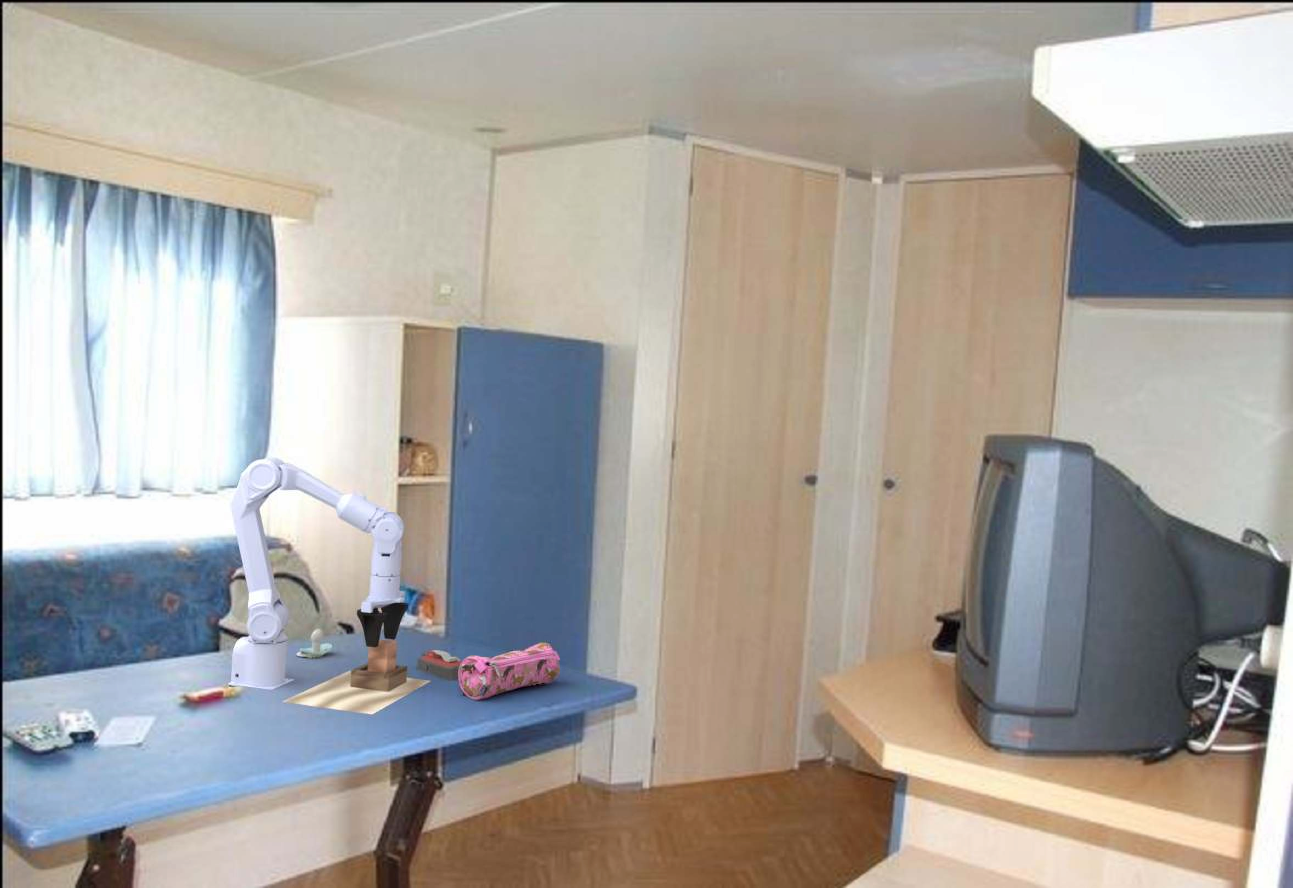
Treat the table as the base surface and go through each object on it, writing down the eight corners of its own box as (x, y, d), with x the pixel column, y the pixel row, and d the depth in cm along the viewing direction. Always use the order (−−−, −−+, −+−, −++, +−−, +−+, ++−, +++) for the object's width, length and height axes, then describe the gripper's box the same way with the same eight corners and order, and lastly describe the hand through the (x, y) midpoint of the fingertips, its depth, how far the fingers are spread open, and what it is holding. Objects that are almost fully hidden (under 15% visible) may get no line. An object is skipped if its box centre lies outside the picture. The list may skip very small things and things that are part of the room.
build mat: (282, 704, 187) (283, 684, 186) (350, 672, 211) (351, 654, 211) (372, 717, 183) (373, 696, 183) (431, 683, 207) (432, 665, 207)
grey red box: (485, 677, 216) (426, 658, 229) (486, 656, 216) (427, 638, 229) (452, 684, 209) (393, 663, 222) (453, 662, 209) (394, 643, 222)
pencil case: (484, 706, 195) (487, 660, 194) (452, 695, 201) (455, 650, 200) (562, 688, 211) (565, 645, 211) (531, 678, 217) (534, 637, 217)
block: (367, 673, 200) (369, 643, 200) (377, 669, 204) (379, 639, 204) (385, 676, 199) (387, 645, 199) (395, 671, 203) (397, 641, 203)
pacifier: (289, 656, 222) (308, 661, 218) (290, 628, 222) (309, 632, 218) (316, 651, 228) (335, 655, 225) (317, 623, 228) (336, 627, 225)
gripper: (387, 581, 193) (382, 652, 194) (420, 571, 208) (415, 637, 208) (353, 577, 195) (348, 648, 195) (388, 567, 209) (384, 633, 209)
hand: (381, 642), depth 202 cm, fingers open, 7 cm apart
